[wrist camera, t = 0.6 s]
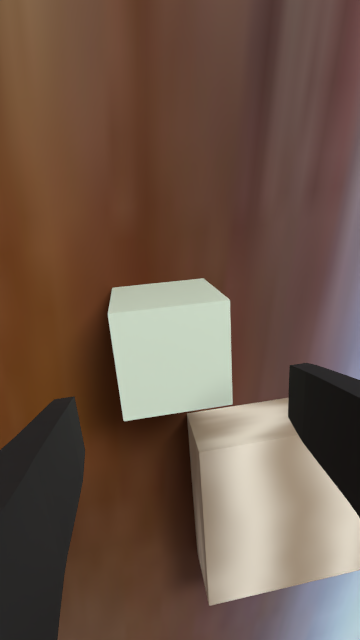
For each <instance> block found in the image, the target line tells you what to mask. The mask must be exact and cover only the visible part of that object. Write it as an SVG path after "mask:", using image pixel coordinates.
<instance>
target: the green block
mask: <svg viewBox="0 0 360 640" xmlns="http://www.w3.org/2000/svg"><path fill="white" fill-rule="evenodd" d="M108 320H109V326H110V333H111V340H112V347H113V353H114V360H115V367H116V373H117V380H118V387H119V394H120V400H121V407H122V414H123V421H129V420H136V419H142V418H148V417H155V416H161V415H168V414H174V413H181V412H187V411H193V410H200V409H206V408H213V407H219V406H226V405H232V365H231V325H230V300H229V299H228V298H227V297H226V296H224V295H223V294H222V293H221V292H219V291H218V290H217V289H216V288H214V287H213V286H212V285H211V284H210V283H208V282H207V281H206V280H205V279H193V280H184V281H174V282H164V283H155V284H145V285H135V286H126V287H116V288H112V292H111V298H110V303H109V309H108Z"/></svg>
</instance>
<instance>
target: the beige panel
mask: <svg viewBox="0 0 360 640" xmlns="http://www.w3.org/2000/svg"><path fill="white" fill-rule="evenodd" d="M288 400H289V398H284V399H277V400H271V401H265V402H258V403H252V404H245V405H239V406H233V407H226V408H220V409H213V410H207V411H201V412H194V413H188V414H187V422H188V435H189V448H190V462H191V475H192V488H193V501H194V514H195V528H196V541H197V552H198V557H199V561H200V566H201V571H202V575H203V580H204V584H205V589H206V594H207V598H208V603H209V606H210V605H215V604H219V603H223V602H227V601H231V600H236V599H240V598H244V597H248V596H252V595H257V594H261V593H265V592H269V591H274V590H278V589H282V588H286V587H290V586H295V585H299V584H303V583H307V582H311V581H316V580H320V579H324V578H328V577H332V576H337V575H341V574H345V573H349V572H353V571H358V570H360V518H359V516H358V515H357V513H356V512H355V510H354V509H353V508H352V506H351V505H350V503H349V502H348V501H347V499H346V498H345V497H344V495H343V494H342V493H341V491H340V490H339V489H338V488H337V486H336V485H335V484H334V482H333V481H332V480H331V479H330V477H329V476H328V475H327V473H326V472H325V471H324V470H323V468H322V467H321V466H320V464H319V463H318V462H317V461H316V459H315V458H314V457H313V455H312V454H311V453H310V451H309V450H308V449H307V447H306V446H305V445H304V443H303V442H302V441H301V439H300V437H299V435H298V434H297V432H296V430H295V429H294V427H293V425H292V423H291V421H290V420H289V418H288Z"/></svg>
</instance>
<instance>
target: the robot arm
mask: <svg viewBox="0 0 360 640" xmlns="http://www.w3.org/2000/svg"><path fill="white" fill-rule="evenodd" d="M288 418H289V420H290V421H291V423H292V425H293V427H294V429H295V430H296V432H297V434H298V435H299V437H300V439H301V441H302V442H303V443H304V445H305V446H306V447H307V449H308V450H309V451H310V453H311V454H312V455H313V457H314V458H315V459H316V461H317V462H318V463H319V464H320V466H321V467H322V468H323V470H324V471H325V472H326V473H327V475H328V476H329V477H330V479H331V480H332V481H333V482H334V484H335V485H336V486H337V488H338V489H339V490H340V491H341V493H342V494H343V495H344V497H345V498H346V499H347V501H348V502H349V503H350V505H351V506H352V508H353V509H354V510H355V512H356V513H357V515H358V516H359V518H360V380H358V379H355V378H352V377H349V376H346V375H343V374H341V373H338V372H335V371H332V370H329V369H326V368H323V367H320V366H317V365H313V364H309V363H303V364H296V365H290V373H289V400H288ZM84 459H85V448H84V442H83V437H82V432H81V427H80V422H79V417H78V412H77V407H76V402H75V397H68V398H61V399H54V400H53V401H52V402H51V403H50V404H49V405H48V406H47V407H46V408H45V409H44V410H43V411H42V412H41V413H39V414H38V415H37V416H36V417H35V418H34V419H33V420H32V421H31V422H30V423H29V424H28V425H27V426H26V427H25V428H24V429H23V430H22V431H21V432H20V433H19V434H18V435H17V436H16V437H15V438H14V439H12V440H11V441H10V442H9V443H8V444H7V445H6V446H4V447H3V448H2V449H1V450H0V640H57V637H58V627H59V617H60V608H61V599H62V590H63V581H64V573H65V567H66V561H67V555H68V550H69V545H70V541H71V536H72V531H73V526H74V521H75V517H76V512H77V507H78V502H79V497H80V492H81V487H82V482H83V472H84Z"/></svg>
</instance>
